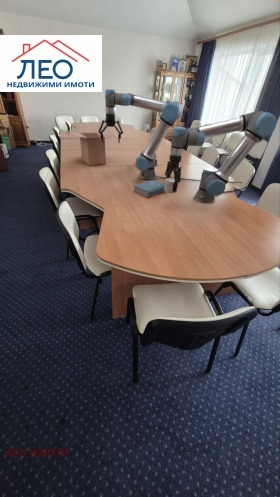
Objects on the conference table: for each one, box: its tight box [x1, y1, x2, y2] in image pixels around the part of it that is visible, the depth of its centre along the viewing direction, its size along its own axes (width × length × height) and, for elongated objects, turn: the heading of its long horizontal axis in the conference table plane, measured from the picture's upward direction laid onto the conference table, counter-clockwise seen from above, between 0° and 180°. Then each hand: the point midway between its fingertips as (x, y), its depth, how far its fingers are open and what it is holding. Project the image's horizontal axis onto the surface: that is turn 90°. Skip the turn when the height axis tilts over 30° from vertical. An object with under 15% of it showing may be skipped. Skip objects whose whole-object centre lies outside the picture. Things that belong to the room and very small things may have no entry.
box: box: [70, 129, 114, 166], centre depth 229 cm, size 44×36×27 cm
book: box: [133, 179, 165, 198], centre depth 177 cm, size 23×16×5 cm
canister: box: [164, 177, 179, 194], centre depth 152 cm, size 9×9×8 cm
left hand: (110, 142), depth 186 cm, fingers open, 13 cm apart
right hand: (170, 188), depth 153 cm, fingers closed on canister, 9 cm apart
